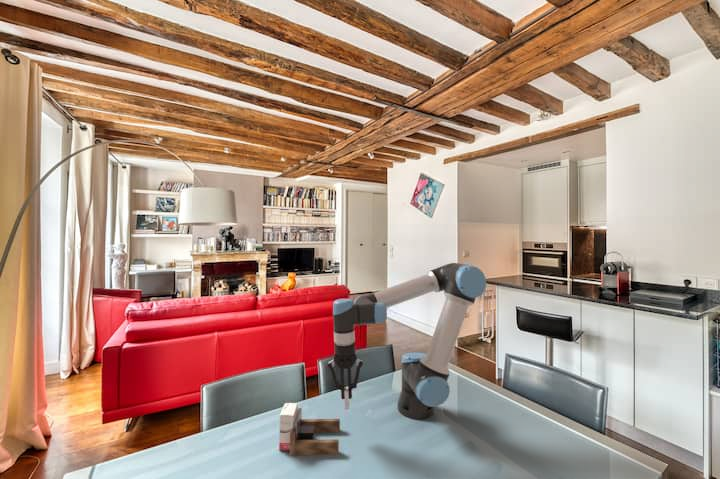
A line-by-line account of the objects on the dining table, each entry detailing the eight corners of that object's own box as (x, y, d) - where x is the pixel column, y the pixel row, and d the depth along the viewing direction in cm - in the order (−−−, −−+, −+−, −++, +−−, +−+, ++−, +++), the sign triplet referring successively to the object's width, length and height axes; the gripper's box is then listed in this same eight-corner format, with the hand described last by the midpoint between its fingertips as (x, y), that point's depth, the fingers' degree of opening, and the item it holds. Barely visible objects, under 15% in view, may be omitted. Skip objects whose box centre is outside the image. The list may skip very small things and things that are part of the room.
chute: (339, 429, 115) (339, 410, 115) (338, 454, 102) (338, 433, 102) (297, 430, 115) (297, 411, 115) (289, 455, 101) (290, 433, 101)
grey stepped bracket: (315, 432, 113) (315, 407, 113) (311, 449, 103) (312, 423, 104) (298, 432, 113) (298, 408, 113) (293, 450, 103) (293, 423, 103)
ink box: (293, 450, 103) (293, 415, 104) (278, 451, 103) (278, 415, 103) (298, 434, 112) (297, 401, 112) (284, 434, 112) (284, 402, 112)
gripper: (361, 338, 115) (364, 400, 115) (327, 339, 115) (329, 402, 115) (363, 344, 108) (365, 411, 108) (325, 346, 107) (328, 414, 107)
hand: (347, 407), depth 111 cm, fingers closed
